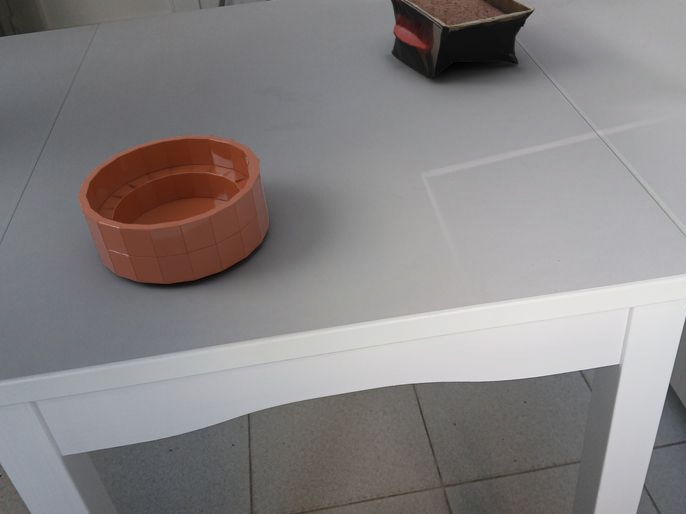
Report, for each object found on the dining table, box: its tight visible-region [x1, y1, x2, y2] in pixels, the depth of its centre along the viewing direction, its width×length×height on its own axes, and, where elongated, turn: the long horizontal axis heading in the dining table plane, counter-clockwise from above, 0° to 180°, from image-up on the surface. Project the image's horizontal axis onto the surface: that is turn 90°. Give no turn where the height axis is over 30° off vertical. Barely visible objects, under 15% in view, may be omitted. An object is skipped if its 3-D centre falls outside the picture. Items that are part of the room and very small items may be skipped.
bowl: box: [77, 134, 270, 285], centre depth 64 cm, size 15×15×6 cm
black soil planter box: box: [390, 0, 535, 80], centre depth 87 cm, size 14×18×10 cm
